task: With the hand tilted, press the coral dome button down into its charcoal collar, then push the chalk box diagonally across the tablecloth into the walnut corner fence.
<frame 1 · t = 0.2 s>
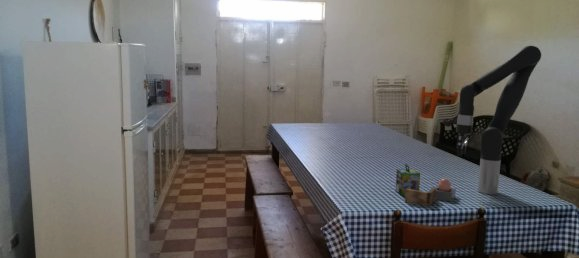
hand: (460, 154, 222), 18 cm above the table, tool pointing down, fingers open, 8 cm apart
corner fence: (428, 205, 194), on the table
dome: (444, 185, 206), point 6 cm above the table, slide at 0.0 cm
chalk box: (406, 194, 213), on the table
dome collar: (443, 197, 207), on the table
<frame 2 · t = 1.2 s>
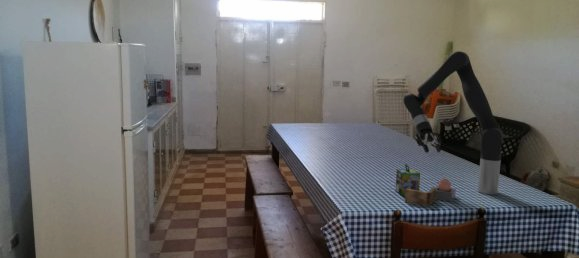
hand: (433, 151, 215), 20 cm above the table, tool tilted 45°, fingers open, 6 cm apart
nothing on the table moved.
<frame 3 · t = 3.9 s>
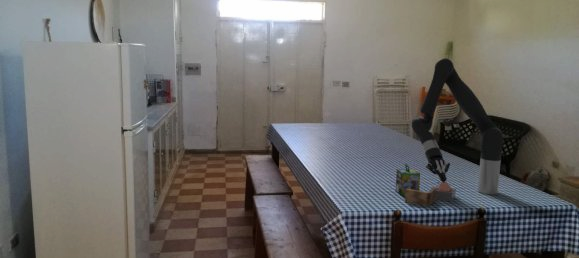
hand: (444, 180, 206), 8 cm above the table, tool tilted 45°, fingers closed
dome: (444, 188, 207), point 5 cm above the table, slide at -1.6 cm, touching gripper
everything else where it was.
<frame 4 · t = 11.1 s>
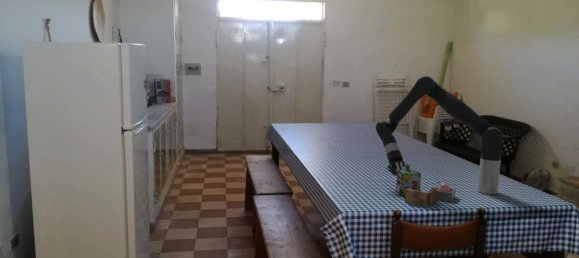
hand: (403, 181, 216), 5 cm above the table, tool tilted 45°, fingers closed
dome: (444, 189, 207), point 4 cm above the table, slide at -2.3 cm
chalk box: (407, 194, 212), on the table, touching gripper
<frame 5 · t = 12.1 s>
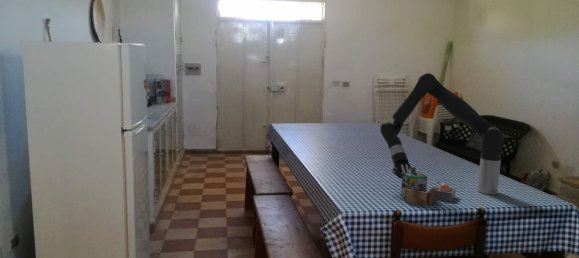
hand: (408, 185, 211), 5 cm above the table, tool tilted 45°, fingers closed
chalk box: (413, 197, 206), on the table, touching gripper
everything else where it was.
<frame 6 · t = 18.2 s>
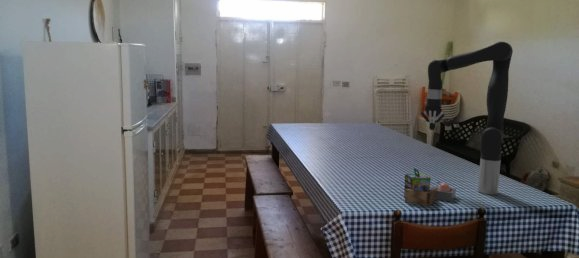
hand: (432, 130, 231), 29 cm above the table, tool pointing down, fingers closed
chalk box: (416, 199, 204), on the table
everything else where it was.
at the end: chalk box inside the target area (2.5 cm from its centre), on the table; chalk box tilted 0°; dome slide at -2.3 cm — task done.
